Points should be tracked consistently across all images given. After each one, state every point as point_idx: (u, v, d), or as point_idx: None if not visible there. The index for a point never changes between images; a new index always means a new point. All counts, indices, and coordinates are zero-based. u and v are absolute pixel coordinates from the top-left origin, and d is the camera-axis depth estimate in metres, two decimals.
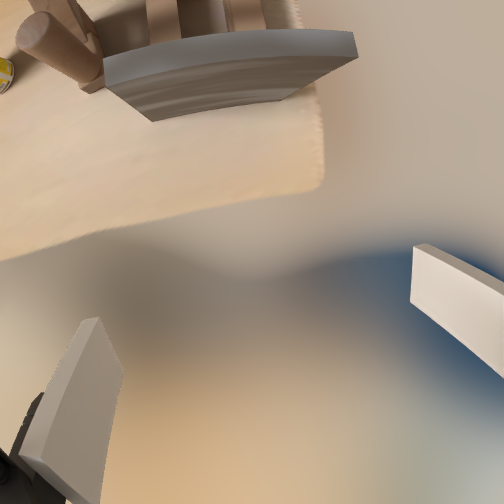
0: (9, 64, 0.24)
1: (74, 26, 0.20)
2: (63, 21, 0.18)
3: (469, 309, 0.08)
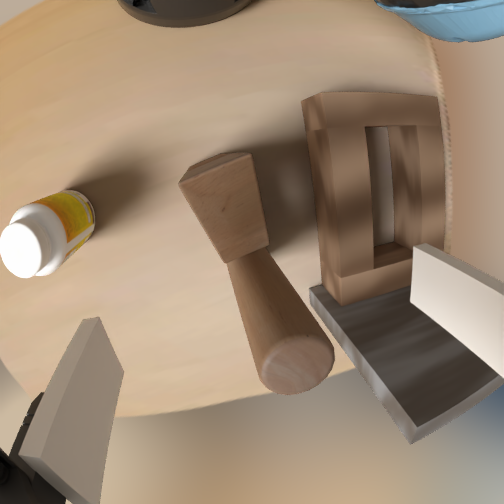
0: (87, 206, 0.24)
1: (258, 231, 0.19)
2: (244, 226, 0.18)
3: (469, 309, 0.08)
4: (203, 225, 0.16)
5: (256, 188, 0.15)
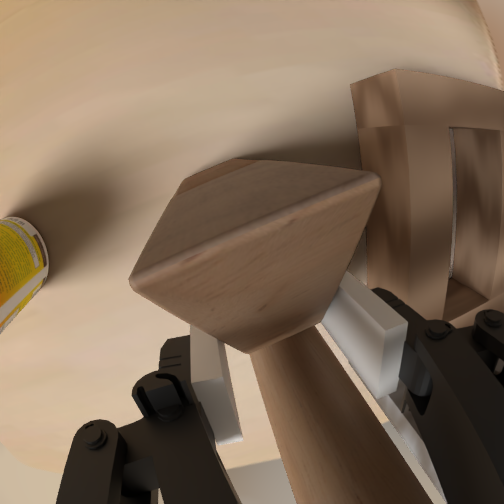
0: (33, 242, 0.14)
1: (314, 313, 0.10)
2: (294, 316, 0.09)
3: (341, 317, 0.10)
4: (212, 335, 0.07)
5: (349, 259, 0.06)
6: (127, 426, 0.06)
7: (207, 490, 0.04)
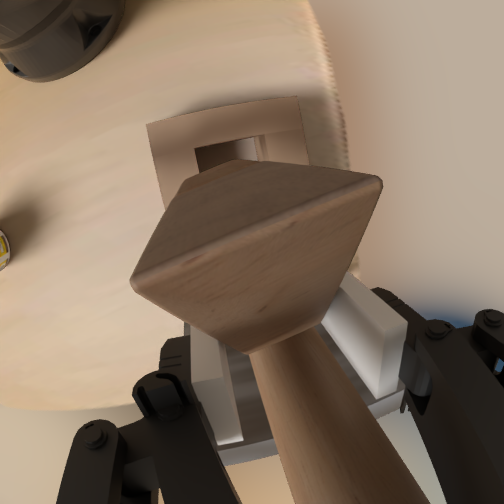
0: (0, 239, 0.25)
1: (314, 315, 0.10)
2: (294, 317, 0.09)
3: (341, 318, 0.10)
4: (212, 336, 0.07)
5: (349, 261, 0.06)
6: (127, 426, 0.06)
7: (207, 490, 0.04)
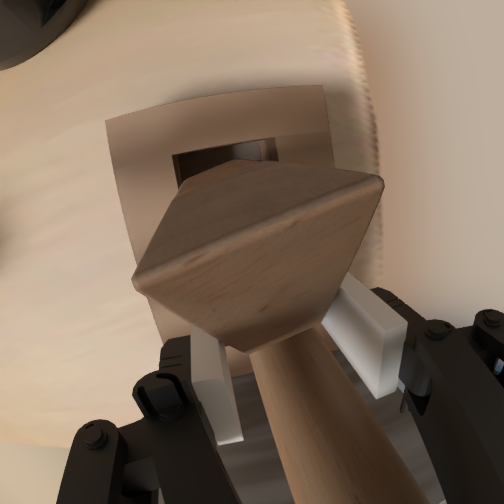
0: None
1: (314, 314, 0.10)
2: (294, 317, 0.09)
3: (340, 318, 0.10)
4: (213, 335, 0.07)
5: (350, 261, 0.06)
6: (127, 426, 0.06)
7: (207, 490, 0.04)
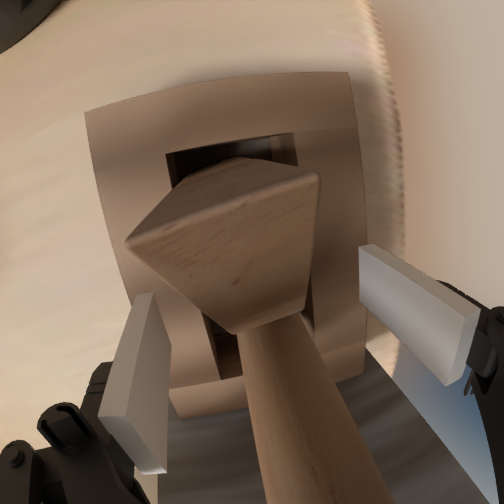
0: None
1: (292, 299, 0.11)
2: (271, 297, 0.10)
3: (407, 310, 0.09)
4: (194, 304, 0.08)
5: (309, 245, 0.07)
6: (47, 449, 0.05)
7: None
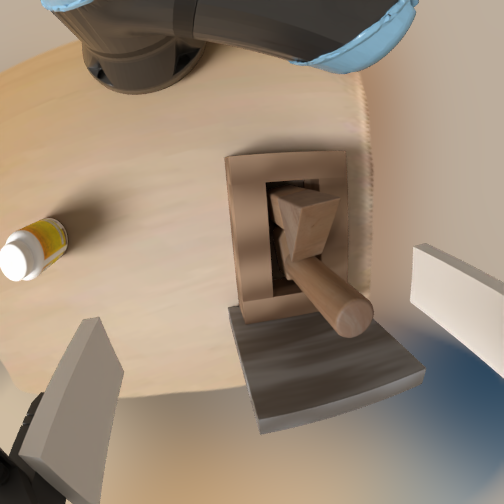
0: (61, 232, 0.31)
1: (321, 242, 0.29)
2: (316, 238, 0.28)
3: (469, 309, 0.08)
4: (297, 234, 0.26)
5: (334, 216, 0.25)
6: None
7: None
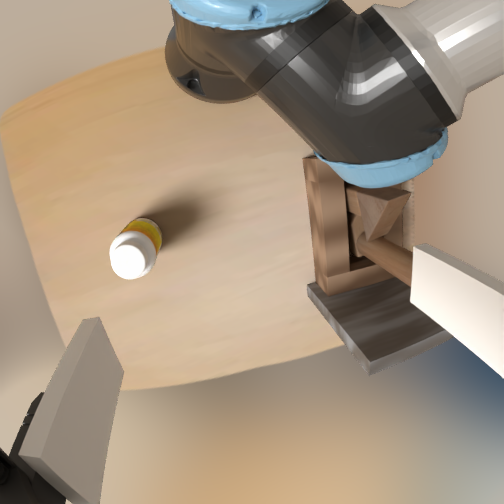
0: (158, 230, 0.38)
1: (390, 225, 0.36)
2: (388, 222, 0.34)
3: (469, 309, 0.08)
4: (379, 220, 0.33)
5: None
6: None
7: None
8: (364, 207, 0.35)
